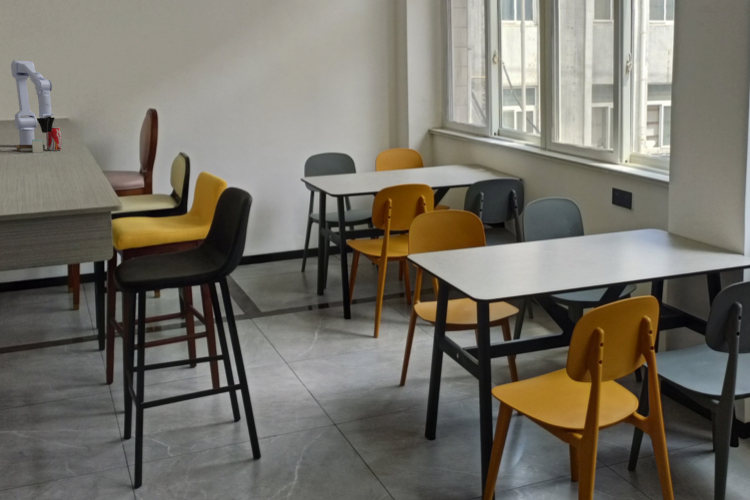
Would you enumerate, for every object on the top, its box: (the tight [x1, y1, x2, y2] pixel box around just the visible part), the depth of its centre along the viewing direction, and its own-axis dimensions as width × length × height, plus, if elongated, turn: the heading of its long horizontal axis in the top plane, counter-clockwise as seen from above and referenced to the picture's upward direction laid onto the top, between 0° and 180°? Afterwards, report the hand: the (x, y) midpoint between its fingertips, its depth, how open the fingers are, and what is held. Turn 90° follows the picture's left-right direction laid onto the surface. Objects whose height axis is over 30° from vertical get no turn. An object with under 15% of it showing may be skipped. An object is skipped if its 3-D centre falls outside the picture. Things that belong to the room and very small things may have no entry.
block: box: [31, 139, 45, 154], centre depth 384 cm, size 5×5×6 cm
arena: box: [15, 144, 46, 152], centre depth 389 cm, size 8×13×2 cm, turn 113°
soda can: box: [45, 125, 63, 152], centre depth 392 cm, size 7×7×12 cm
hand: (46, 132), depth 382 cm, fingers open, 7 cm apart
